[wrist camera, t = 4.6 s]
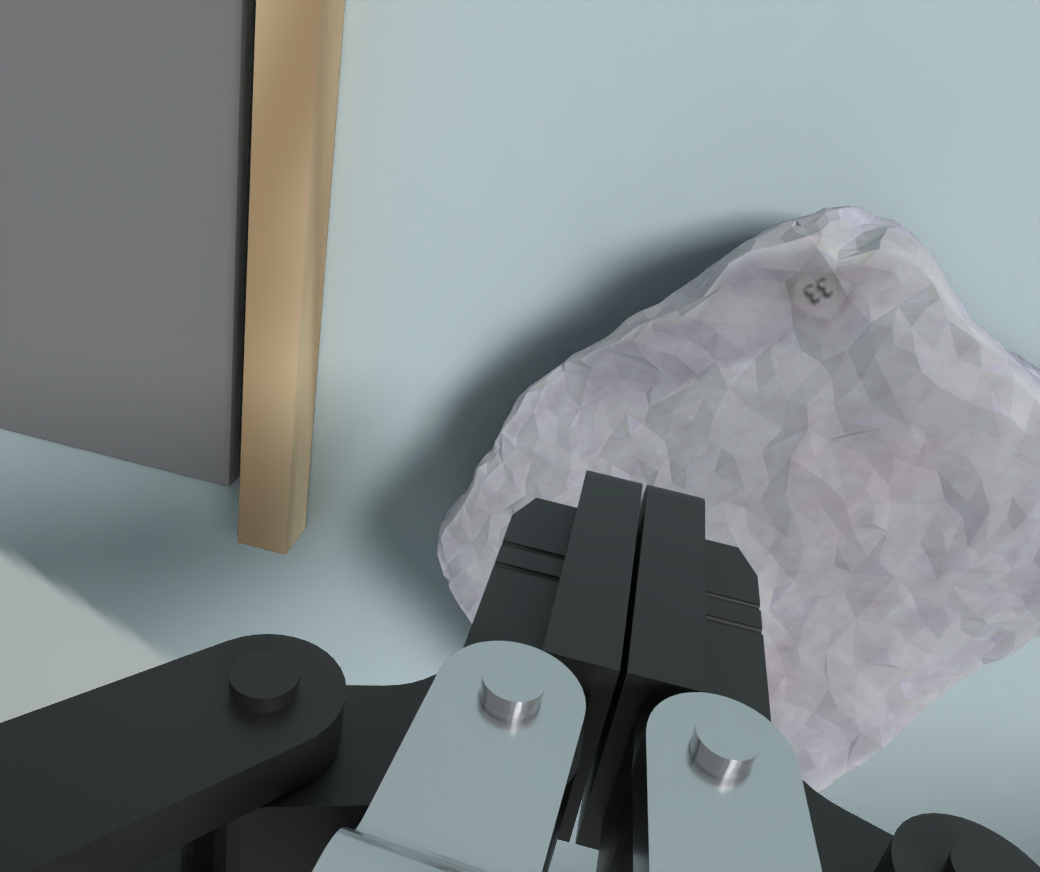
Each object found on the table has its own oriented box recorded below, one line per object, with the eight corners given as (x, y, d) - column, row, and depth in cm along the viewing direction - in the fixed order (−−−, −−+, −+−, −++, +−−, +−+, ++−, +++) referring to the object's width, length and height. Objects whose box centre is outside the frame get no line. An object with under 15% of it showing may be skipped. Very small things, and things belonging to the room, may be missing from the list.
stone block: (444, 481, 23) (722, 763, 23) (357, 558, 19) (700, 908, 18) (808, 110, 18) (1164, 466, 18) (806, 96, 14) (1277, 567, 14)
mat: (256, -77, 17) (244, -79, 16) (238, 476, 22) (229, 486, 22) (-276, -183, 18) (-302, -188, 17) (-167, 373, 23) (-184, 381, 23)
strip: (354, -122, 16) (329, -130, 15) (305, 528, 23) (285, 554, 21) (290, -134, 16) (261, -143, 15) (259, 516, 23) (237, 542, 22)
